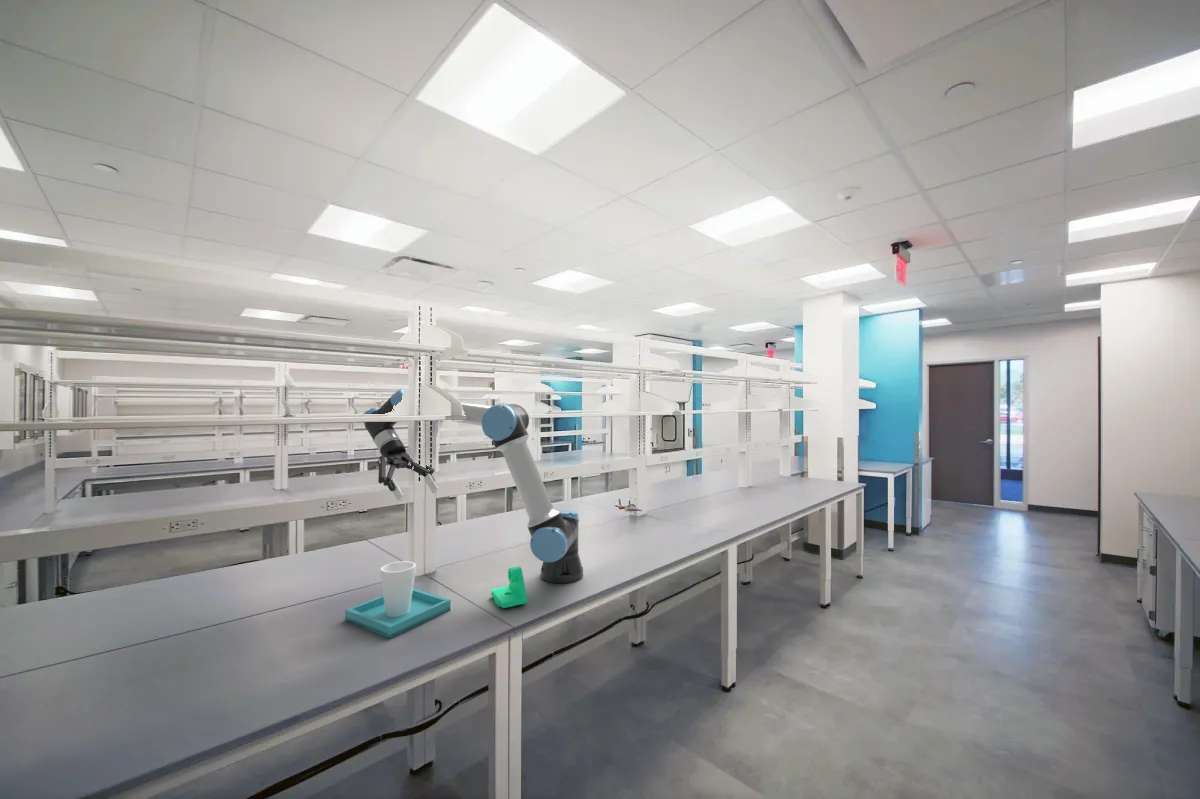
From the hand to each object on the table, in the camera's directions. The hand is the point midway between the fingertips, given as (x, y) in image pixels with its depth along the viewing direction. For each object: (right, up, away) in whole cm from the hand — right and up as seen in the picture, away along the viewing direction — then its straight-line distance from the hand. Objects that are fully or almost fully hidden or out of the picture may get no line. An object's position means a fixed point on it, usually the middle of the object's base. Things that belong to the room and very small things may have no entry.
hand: (418, 494), depth 152 cm
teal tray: (+1, -31, -17) cm, 36 cm away
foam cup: (+1, -31, -18) cm, 35 cm away
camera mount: (+31, -32, -8) cm, 45 cm away
